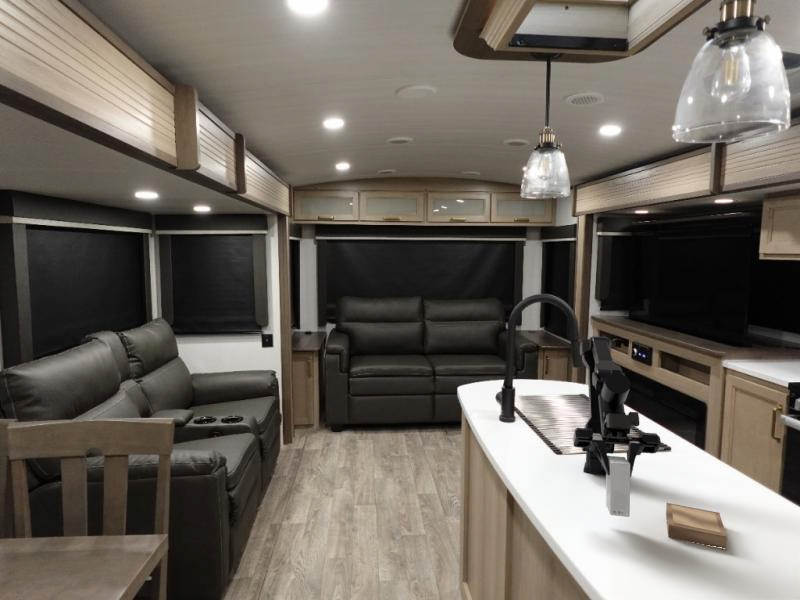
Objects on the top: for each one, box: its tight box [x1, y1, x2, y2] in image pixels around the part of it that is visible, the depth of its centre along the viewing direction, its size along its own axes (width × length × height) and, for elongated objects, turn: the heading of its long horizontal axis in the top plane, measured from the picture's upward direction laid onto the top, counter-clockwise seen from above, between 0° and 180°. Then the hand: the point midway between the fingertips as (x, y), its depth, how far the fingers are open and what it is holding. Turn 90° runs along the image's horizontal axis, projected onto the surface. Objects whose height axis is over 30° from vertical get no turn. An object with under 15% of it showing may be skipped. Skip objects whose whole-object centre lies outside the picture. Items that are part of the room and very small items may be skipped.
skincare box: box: [605, 455, 631, 518], centre depth 114 cm, size 6×4×12 cm
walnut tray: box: [665, 502, 728, 549], centre depth 113 cm, size 11×11×3 cm
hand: (619, 475), depth 113 cm, fingers closed on skincare box, 4 cm apart
